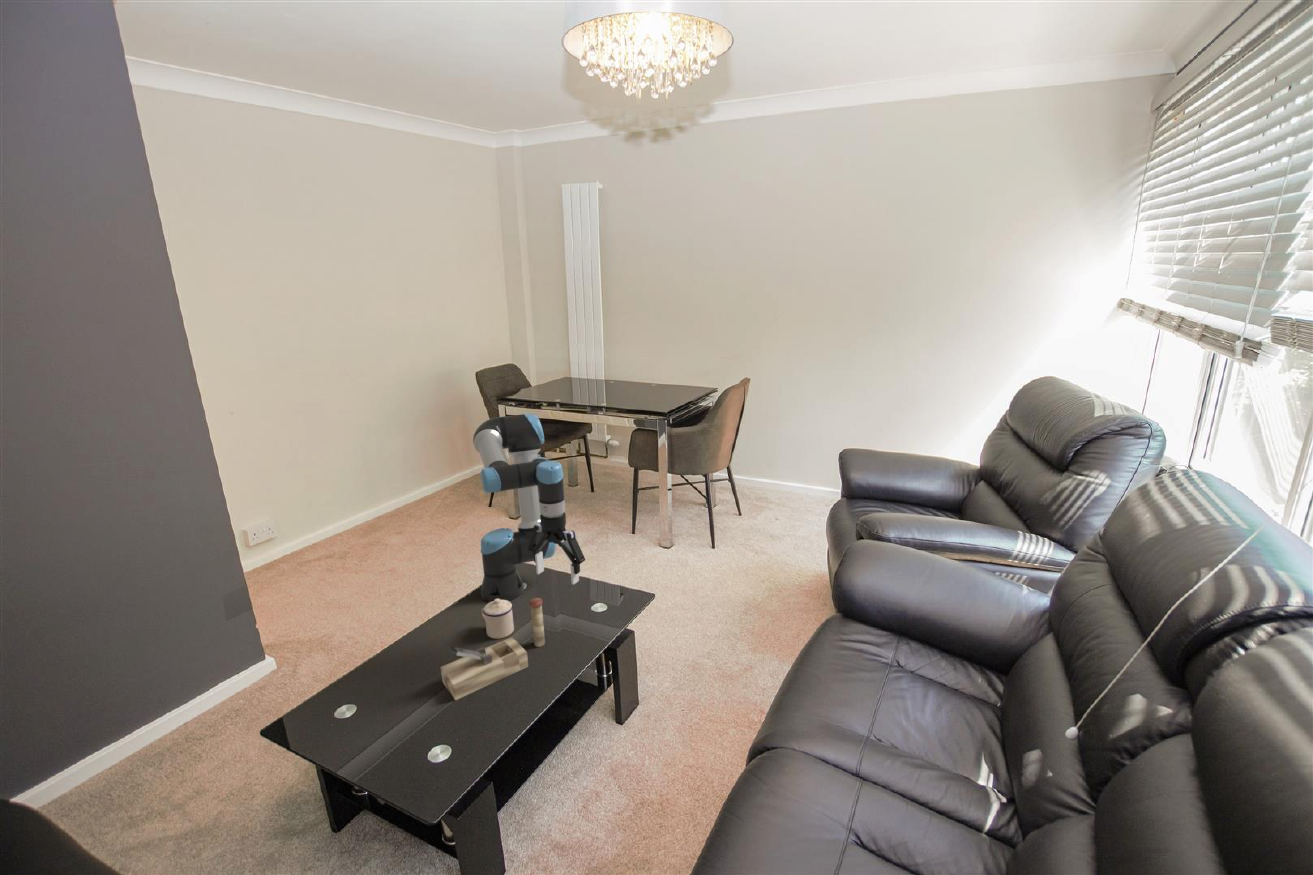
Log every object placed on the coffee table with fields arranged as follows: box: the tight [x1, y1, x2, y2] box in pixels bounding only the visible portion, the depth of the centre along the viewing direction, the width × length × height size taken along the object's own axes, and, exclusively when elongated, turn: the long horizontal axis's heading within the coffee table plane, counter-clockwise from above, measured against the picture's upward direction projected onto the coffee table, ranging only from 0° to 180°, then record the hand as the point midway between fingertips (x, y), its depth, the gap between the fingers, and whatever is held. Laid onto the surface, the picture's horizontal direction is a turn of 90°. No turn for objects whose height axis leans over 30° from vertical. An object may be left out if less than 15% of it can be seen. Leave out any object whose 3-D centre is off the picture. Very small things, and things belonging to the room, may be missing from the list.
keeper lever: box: [446, 645, 486, 660], centre depth 165 cm, size 3×12×1 cm
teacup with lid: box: [480, 599, 515, 640], centre depth 190 cm, size 12×9×12 cm
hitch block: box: [440, 636, 529, 701], centre depth 169 cm, size 10×22×7 cm, turn 129°
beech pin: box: [528, 597, 546, 648], centre depth 182 cm, size 4×4×15 cm
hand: (557, 577), depth 180 cm, fingers open, 13 cm apart
